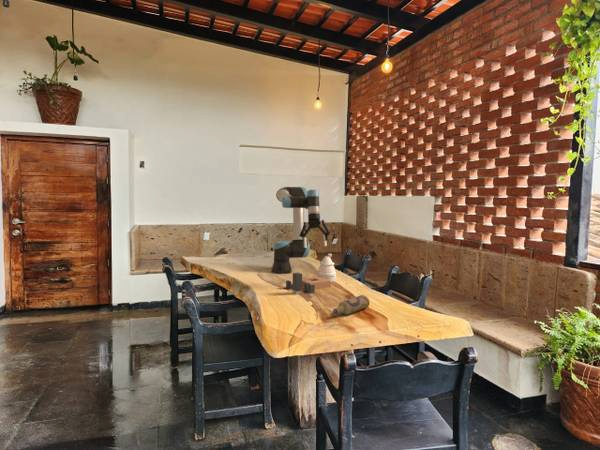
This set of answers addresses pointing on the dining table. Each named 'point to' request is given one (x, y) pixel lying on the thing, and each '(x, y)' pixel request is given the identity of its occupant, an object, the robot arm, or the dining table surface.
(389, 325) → the dining table surface
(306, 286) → the clip
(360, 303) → the decorative bottle
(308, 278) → the end holder
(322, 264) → the honey pot
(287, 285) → the clip
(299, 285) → the plug
